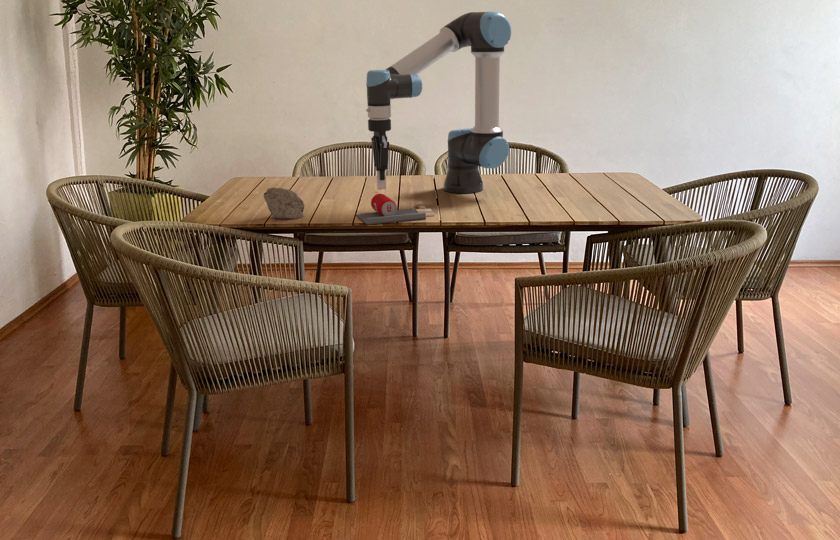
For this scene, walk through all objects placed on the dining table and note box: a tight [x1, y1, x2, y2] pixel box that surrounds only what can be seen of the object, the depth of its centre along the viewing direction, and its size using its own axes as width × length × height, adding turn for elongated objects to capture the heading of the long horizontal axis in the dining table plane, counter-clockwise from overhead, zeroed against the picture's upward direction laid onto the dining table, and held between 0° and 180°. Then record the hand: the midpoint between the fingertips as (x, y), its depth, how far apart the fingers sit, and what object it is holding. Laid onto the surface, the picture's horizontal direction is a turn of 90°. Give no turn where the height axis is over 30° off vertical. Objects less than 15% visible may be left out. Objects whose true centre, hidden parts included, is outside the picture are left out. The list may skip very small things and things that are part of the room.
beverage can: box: [370, 193, 398, 217], centre depth 267 cm, size 6×6×12 cm
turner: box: [415, 201, 435, 218], centre depth 274 cm, size 17×5×1 cm, turn 9°
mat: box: [355, 208, 427, 226], centre depth 266 cm, size 20×14×2 cm
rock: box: [263, 187, 305, 219], centre depth 268 cm, size 14×10×8 cm
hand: (381, 189), depth 269 cm, fingers closed
